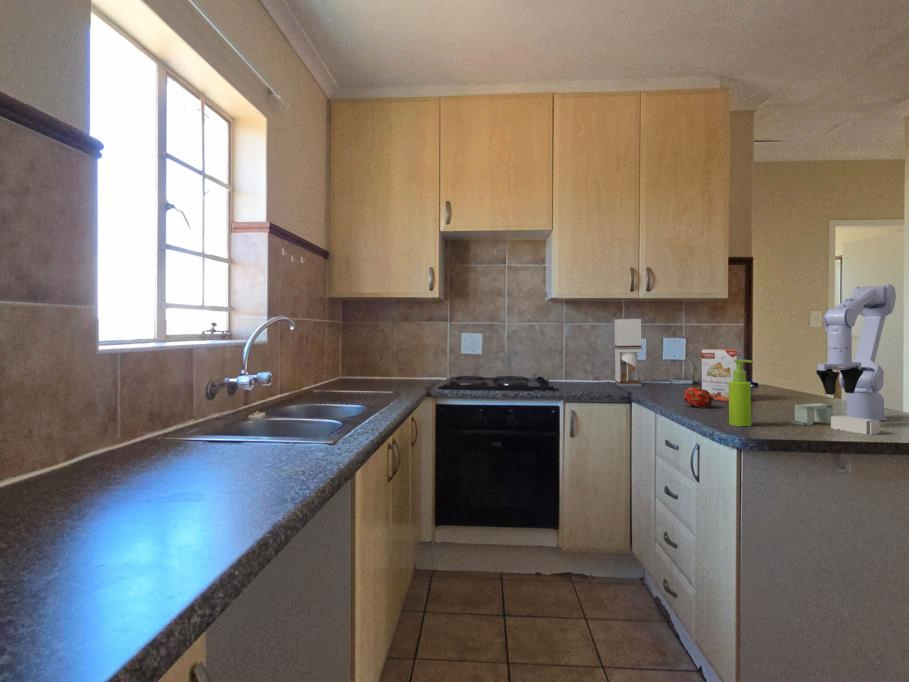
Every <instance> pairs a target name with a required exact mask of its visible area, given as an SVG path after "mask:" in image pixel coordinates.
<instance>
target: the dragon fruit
mask: <svg viewBox="0 0 909 682" xmlns="http://www.w3.org/2000/svg"><path fill="white" fill-rule="evenodd" d="M682 399H683V401H684V403H688V405H689V407H696V408H700V409H706V408H707V407H706V406H712V403H713V402H714V401H715V400H714V397H713V396H712V395H710V393H709V392H708V391H707V390H702V386H697V387H696V386H695V385H694V386H693V385H692V386H691V387H688V388H687V389H686V390H685V391H684V392H683V396H682ZM712 401H713V402H712Z"/></svg>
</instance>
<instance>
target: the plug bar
mask: <svg viewBox="0 0 909 682" xmlns="http://www.w3.org/2000/svg"><path fill="white" fill-rule="evenodd" d="M880 423H881V422H880V421H878V420H870V419H862V418H854V417H847V415H833V416H832V417H831V423H830V429H831V428H833V429H832V430H837V429H840V430H839V431H843V430H845V431H844V432H850V431H851V432H850V433H857V434H863V435H864V434H865V435H871V436H873V435H877V434H878V433H879V434H880V428H881V426H880Z"/></svg>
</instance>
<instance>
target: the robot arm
mask: <svg viewBox="0 0 909 682" xmlns="http://www.w3.org/2000/svg"><path fill="white" fill-rule="evenodd" d="M896 292H897V291H896V288H895V286H894V285H892V284H889V283H888V284H885V285H872V286H871V285H870V286H856V287H855V288H854V289H852V293H851V297H846V298H844V300H843V301H842V302H841V303H839V304H838V305H837V306H835V307H834V308H829V309H828V310H826V311H824V314H823V325H824V328H825V333H826V334H827V361H826V362H823V363H818V364H817V369H816V370H815V371H816V375H817V376H818V377H819V379H820V381H821V383H822V385H823V389H824V392H825V395H830V396H831V395H833V396H834V395H835V393H836V386H837V385H836V384H837V379H838V382H839V386H840V387H841V389H843V390H844V393H846V416H847V417H854V418H862V419H870V420H878V421H881V420H882V421H887V420H888V418H885V400H884V399H885V398H884V396H883V395H882V393H880V392H879V391H881V390H882V388H883V387H884V383H885V380H884V377H885V376H884V375H885V372H884V369H883V368H882V366H880V365H879V364H878V363H876V362H875V361H876V358H877V355H878V354H877V353H878V349H879V346H880V341H881V336H882V333H883V328H884V324H885V322H886V321H885V320H886V317H887V316H888V315H891V314H892V313H893V311H894V308H895V306H896V305H895V304H896V300H897V293H896ZM858 316H862V317H864V321H863V322H864V323H863V326H862V329H861V334H860V338H859V342H858V345H857V349H856V353H855V354H856V355H855V358H854V359H853V357H852V356H853V355H852V353H853V347H852V346H853V344H852V343H853V338H852V336H853V335H852V334H853V333H852V330H853V327H855V325H856V321H857V319H858ZM835 370H836V371H835ZM837 370H839V371H837ZM838 376H839V378H838Z"/></svg>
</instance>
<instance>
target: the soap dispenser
mask: <svg viewBox="0 0 909 682" xmlns="http://www.w3.org/2000/svg"><path fill="white" fill-rule="evenodd" d="M734 362H736V370H735V371H733V381H731V382H729V401H728V425H730V426H733V425H734V427H740V426H748V427H751V426H752V383H751V382H750V381H747V371H746V370H744V364H743V363H751V364H754V363H755V360H750V359H743V360H734Z"/></svg>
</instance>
